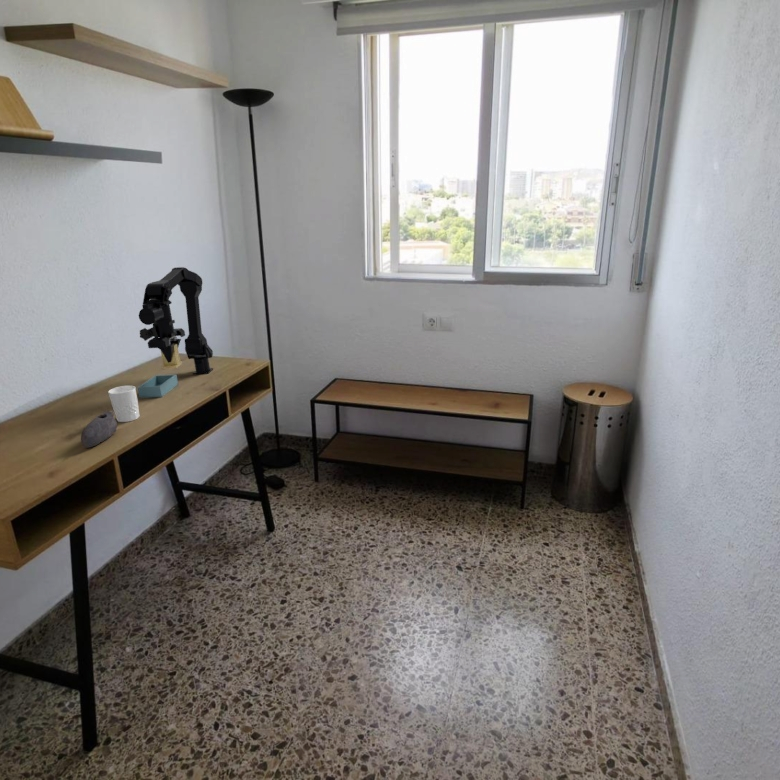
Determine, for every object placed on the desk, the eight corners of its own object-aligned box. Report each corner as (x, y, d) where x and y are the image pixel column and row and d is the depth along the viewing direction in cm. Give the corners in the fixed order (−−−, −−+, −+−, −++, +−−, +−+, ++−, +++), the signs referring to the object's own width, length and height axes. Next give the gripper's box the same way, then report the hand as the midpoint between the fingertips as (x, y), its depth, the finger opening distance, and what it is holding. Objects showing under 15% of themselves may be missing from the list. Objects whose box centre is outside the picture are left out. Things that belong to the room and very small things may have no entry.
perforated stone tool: (92, 452, 147) (87, 429, 145) (75, 452, 148) (69, 429, 146) (124, 430, 162) (119, 409, 159) (108, 430, 162) (103, 409, 160)
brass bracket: (169, 364, 196) (165, 343, 193) (182, 363, 196) (178, 342, 193) (162, 368, 190) (158, 347, 188) (176, 368, 190) (172, 346, 188)
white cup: (131, 423, 167) (124, 393, 163) (109, 422, 168) (102, 393, 165) (146, 414, 174) (140, 385, 171) (125, 413, 175) (119, 385, 172)
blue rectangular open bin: (157, 385, 203) (155, 375, 202) (178, 384, 203) (176, 374, 202) (139, 397, 190) (137, 387, 189) (161, 397, 190) (159, 386, 188)
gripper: (152, 314, 196) (160, 355, 201) (128, 325, 179) (138, 369, 184) (181, 313, 196) (189, 353, 201) (160, 324, 178) (169, 367, 184)
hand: (171, 360), depth 192 cm, fingers closed on brass bracket, 3 cm apart
